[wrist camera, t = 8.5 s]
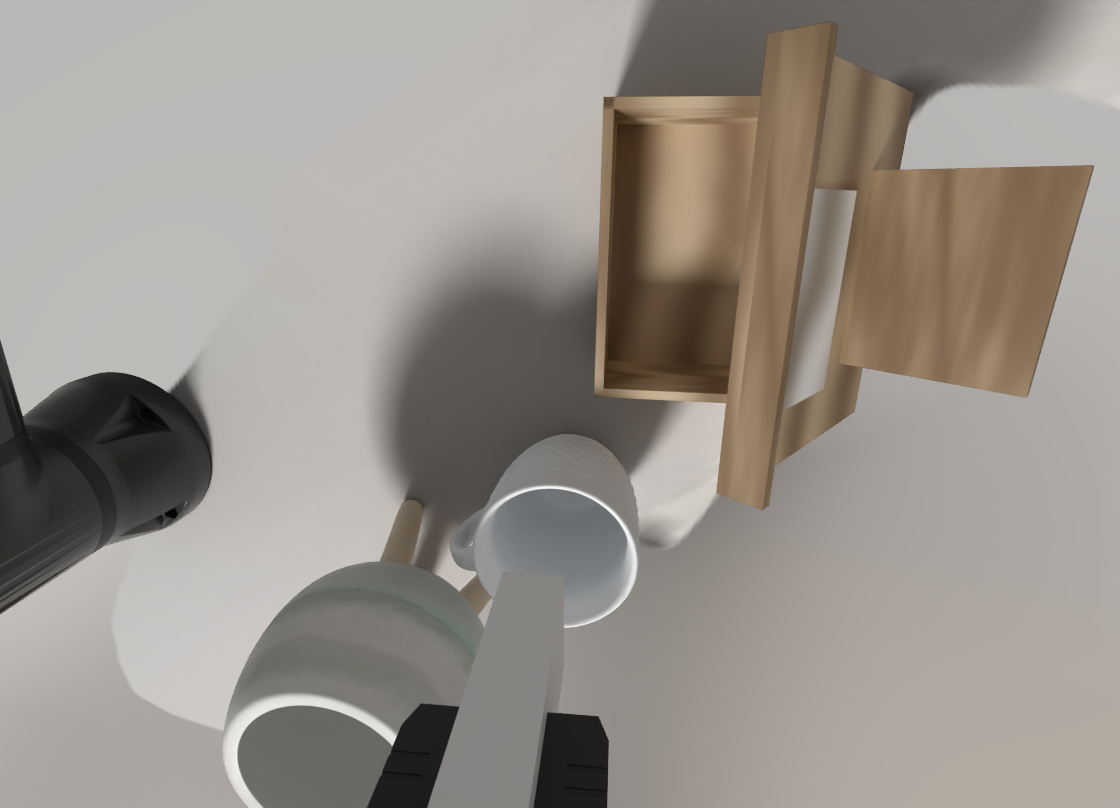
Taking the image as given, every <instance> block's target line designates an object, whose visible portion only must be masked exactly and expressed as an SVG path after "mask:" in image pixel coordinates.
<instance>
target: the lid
mask: <svg viewBox="0 0 1120 808" xmlns="http://www.w3.org/2000/svg"><path fill="white" fill-rule="evenodd" d="M837 30H838V25H836V24H835V23H833V22H827V23H821V24H816V25H811V26H805V27H800V28H795V29H789V30H784V31H779V32H773V33H768V34H767V40H766V49H765V58H764V67H763V76H762V85H761V94H760V103H759V112H758V121H757V130H756V140H755V149H754V158H753V167H752V176H751V185H750V194H749V203H748V212H747V221H746V230H745V239H744V248H743V257H742V266H741V275H740V284H739V293H738V302H737V311H736V320H735V329H734V338H733V347H732V356H731V366H730V375H729V384H728V393H727V402H726V411H725V420H724V429H723V438H722V447H721V456H720V465H719V474H718V483H717V492H716V493H717V494H720V495H723V496H726V497H728V498H731V499H734V500H736V501H739V502H742V503H744V504H747V505H750V506H752V507H755V508H758V509H760V510H763V509H765V508H766V507H767V506H769V500H770V494H771V487H772V480H773V473H774V466H776V465H777V464H779V463H780V462H782V461H783V460H784V459H786V458H787V457H789V456H790V455H792V454H793V453H795V452H796V451H798V450H799V449H801V448H802V447H804V446H805V445H807V444H808V443H810V442H811V441H812V440H814V439H815V438H817V437H818V436H820V435H821V434H823V433H824V432H826V431H827V430H829V429H830V428H832V427H833V426H835V425H836V424H837V423H839V422H840V421H842V420H843V419H845V418H846V417H847V416H849V415H851V414H852V413H853V412H854V411H855V406H856V400H857V394H858V390H859V384H860V379H861V373H862V368H867V369H873V370H878V371H884V372H889V373H895V374H900V375H906V376H911V377H917V378H922V379H928V380H933V381H938V382H944V383H950V384H955V385H960V386H965V387H972V388H977V389H982V390H988V391H993V392H998V393H1004V394H1009V395H1015V396H1020V397H1025V398H1026V397H1027V396H1028V394H1029V391H1030V387H1031V384H1032V381H1033V377H1034V374H1035V370H1036V366H1037V363H1038V360H1039V356H1040V353H1041V349H1042V346H1043V343H1044V339H1045V336H1046V332H1047V329H1048V325H1049V322H1050V318H1051V315H1052V311H1053V308H1054V304H1055V301H1056V297H1057V294H1058V290H1059V287H1060V283H1061V280H1062V277H1063V273H1064V270H1065V266H1066V263H1067V259H1068V256H1069V252H1070V249H1071V245H1072V242H1073V238H1074V235H1075V231H1076V228H1077V225H1078V221H1079V217H1080V214H1081V211H1082V207H1083V204H1084V200H1085V197H1086V193H1087V189H1088V186H1089V183H1090V179H1091V176H1092V172H1093V169H1094V166H1093V165H1085V166H1046V167H1045V166H1042V167H1005V168H1004V167H1002V168H1001V167H999V168H959V169H958V168H957V169H914V170H900V165H901V160H902V155H903V150H904V144H905V139H906V134H907V128H908V123H909V118H910V112H911V107H912V102H913V96H914V93H913V92H911V91H909V90H907V89H905V88H903V87H900V86H898V85H896V84H894V83H892V82H890V81H888V80H886V79H884V78H882V77H880V76H878V75H875V74H873V73H871V72H869V71H867V70H865V69H863V68H861V67H859V66H857V65H855V64H853V63H850V62H848V61H846V60H844V59H842V58H840V57H838V56H836V55H834V51H835V44H836V37H837Z"/></svg>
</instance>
